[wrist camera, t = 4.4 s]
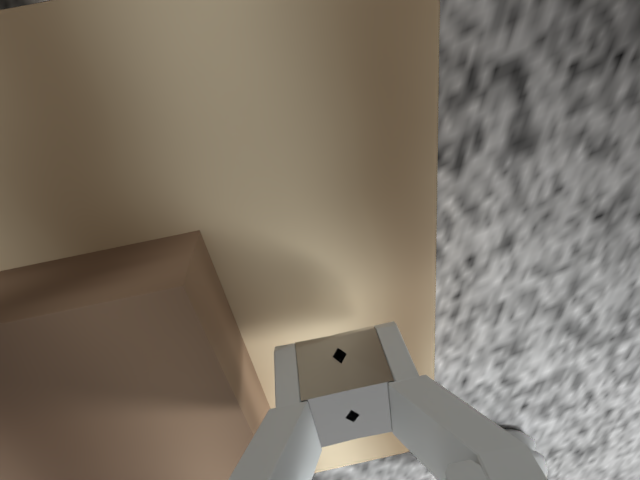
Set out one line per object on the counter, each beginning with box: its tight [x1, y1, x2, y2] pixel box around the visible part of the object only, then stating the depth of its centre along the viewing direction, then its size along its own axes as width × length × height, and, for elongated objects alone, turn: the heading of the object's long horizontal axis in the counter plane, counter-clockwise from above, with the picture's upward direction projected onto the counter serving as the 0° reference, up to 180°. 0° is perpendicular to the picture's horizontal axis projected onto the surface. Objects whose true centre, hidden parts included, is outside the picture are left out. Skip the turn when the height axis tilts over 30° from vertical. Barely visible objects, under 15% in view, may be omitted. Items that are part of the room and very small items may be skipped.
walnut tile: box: [0, 230, 271, 480], centre depth 9 cm, size 8×7×2 cm
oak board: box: [0, 0, 440, 473], centre depth 11 cm, size 14×16×3 cm
